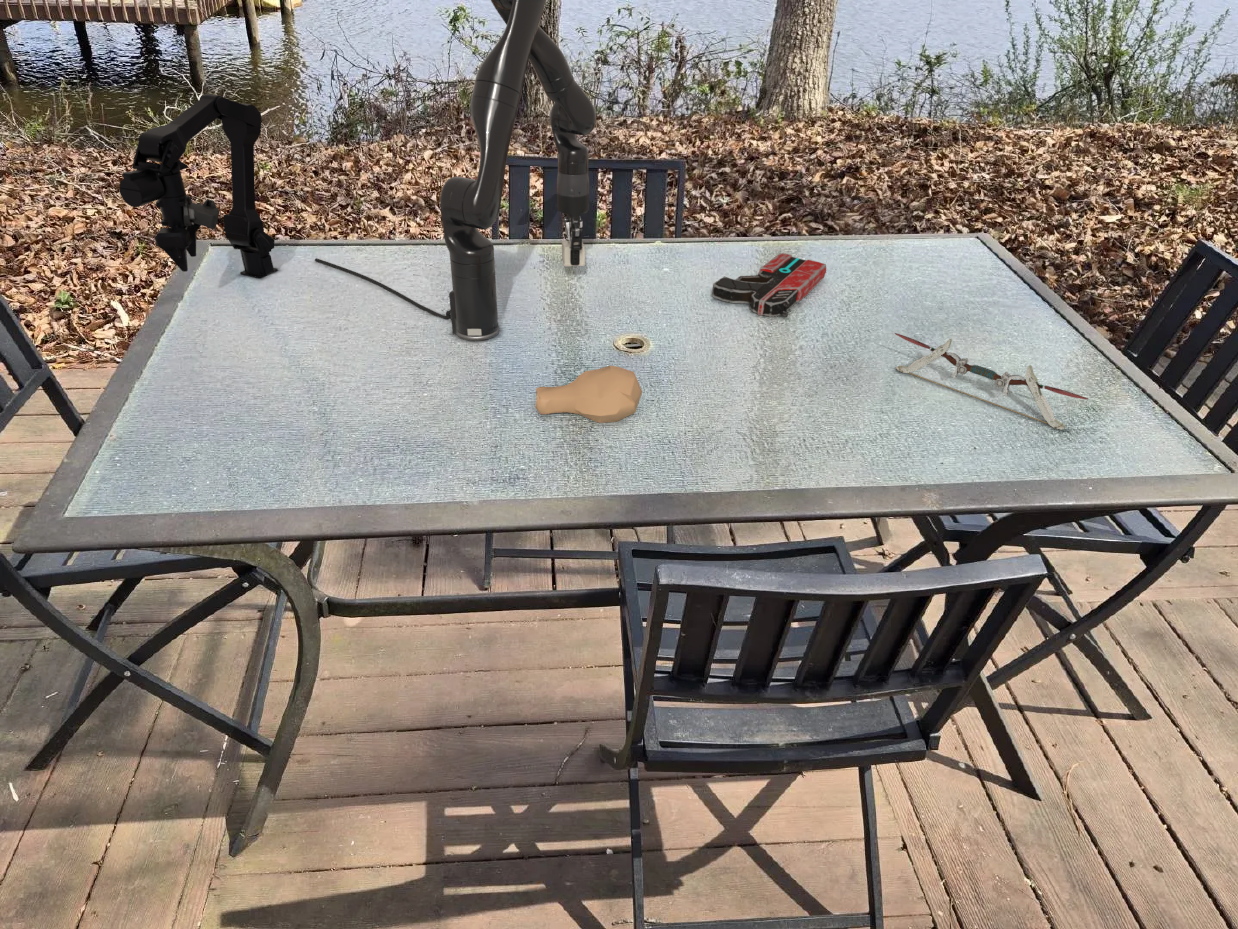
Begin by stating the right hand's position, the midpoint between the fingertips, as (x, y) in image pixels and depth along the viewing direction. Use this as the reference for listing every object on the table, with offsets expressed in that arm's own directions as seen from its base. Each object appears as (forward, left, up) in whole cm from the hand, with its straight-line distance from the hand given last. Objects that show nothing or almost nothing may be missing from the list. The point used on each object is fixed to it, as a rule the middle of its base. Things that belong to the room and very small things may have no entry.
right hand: (573, 260), depth 214 cm
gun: (+46, +15, -6) cm, 49 cm away
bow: (+96, -22, -6) cm, 99 cm away
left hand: (-74, -47, +4) cm, 87 cm away
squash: (+28, -58, -6) cm, 64 cm away
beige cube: (0, 0, -1) cm, 1 cm away
